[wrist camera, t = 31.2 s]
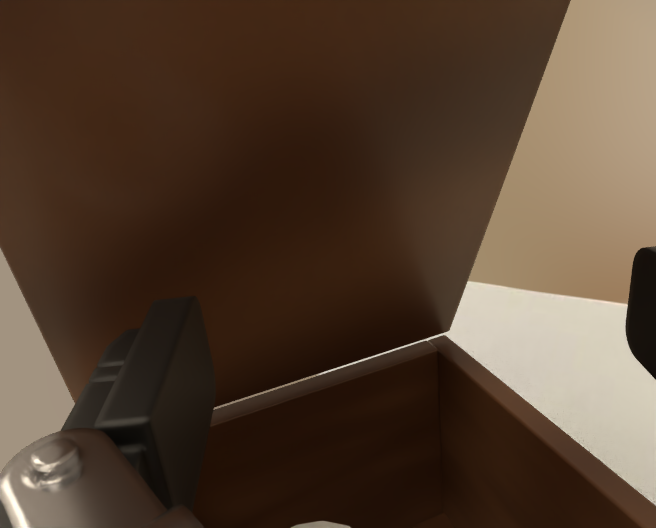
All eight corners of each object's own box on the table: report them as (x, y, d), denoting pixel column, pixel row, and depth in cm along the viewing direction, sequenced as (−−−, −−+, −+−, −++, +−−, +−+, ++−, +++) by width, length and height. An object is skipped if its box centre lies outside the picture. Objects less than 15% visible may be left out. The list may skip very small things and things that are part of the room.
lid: (636, -174, 11) (480, -232, 14) (-194, -155, 7) (-152, -240, 10) (449, 331, 22) (386, 237, 25) (95, 447, 18) (72, 318, 21)
